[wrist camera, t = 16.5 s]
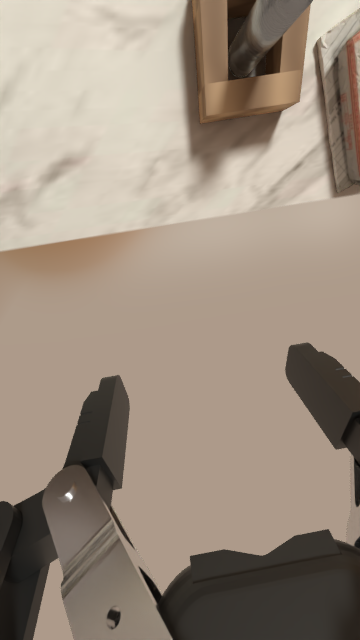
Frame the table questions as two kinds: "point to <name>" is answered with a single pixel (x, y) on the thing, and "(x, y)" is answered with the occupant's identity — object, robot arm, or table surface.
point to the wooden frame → (248, 93)
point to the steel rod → (262, 32)
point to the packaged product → (342, 97)
